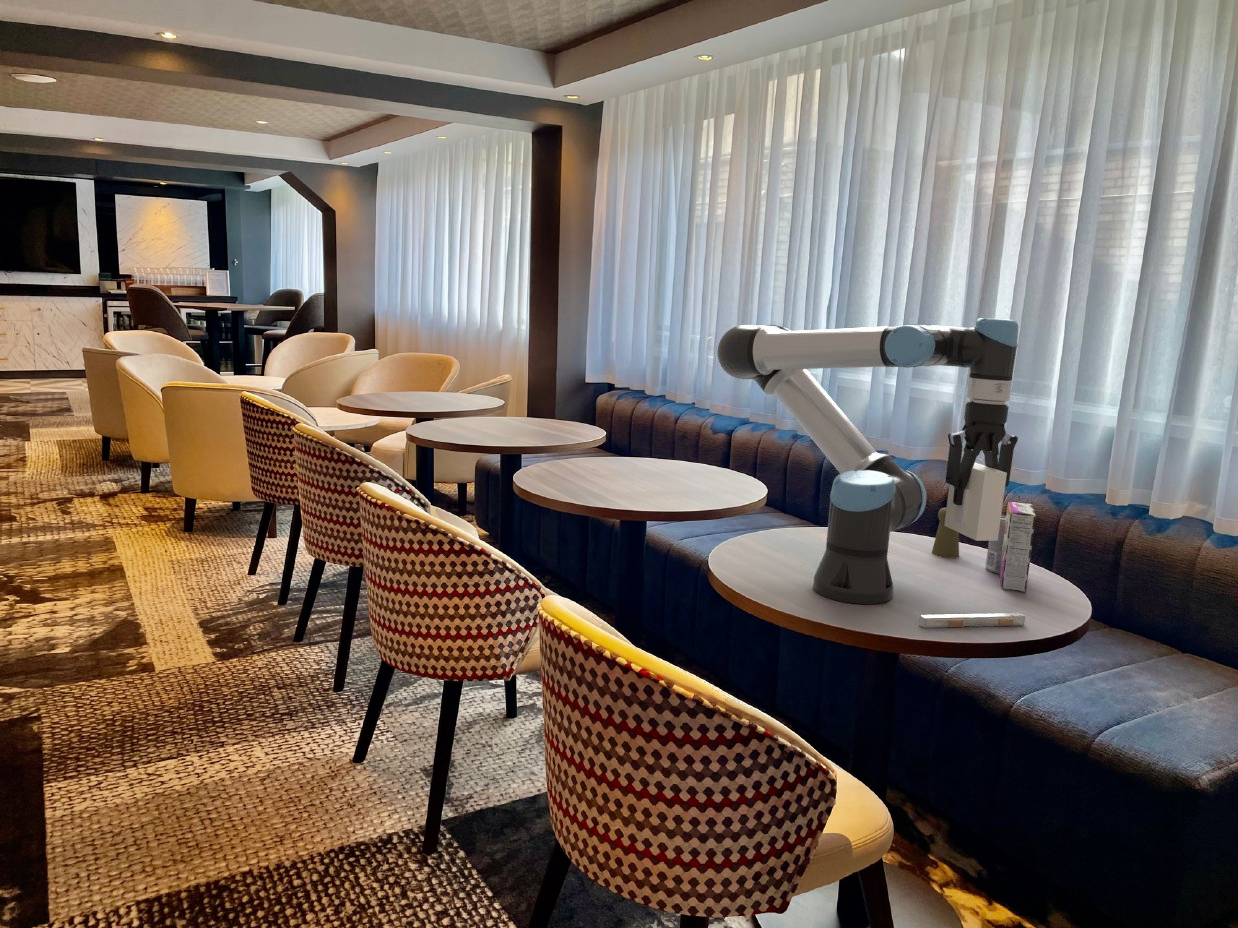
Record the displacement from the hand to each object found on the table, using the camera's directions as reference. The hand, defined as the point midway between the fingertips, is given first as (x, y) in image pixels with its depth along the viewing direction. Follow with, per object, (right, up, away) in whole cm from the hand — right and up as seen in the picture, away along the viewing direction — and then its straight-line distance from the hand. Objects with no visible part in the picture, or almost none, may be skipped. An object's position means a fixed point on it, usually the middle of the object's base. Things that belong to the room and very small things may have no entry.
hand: (972, 521), depth 174 cm
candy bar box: (+14, -14, +15) cm, 25 cm away
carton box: (0, -2, 0) cm, 2 cm away
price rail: (-5, -18, -12) cm, 22 cm away
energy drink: (+15, -13, +24) cm, 31 cm away
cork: (+8, -10, +36) cm, 38 cm away
